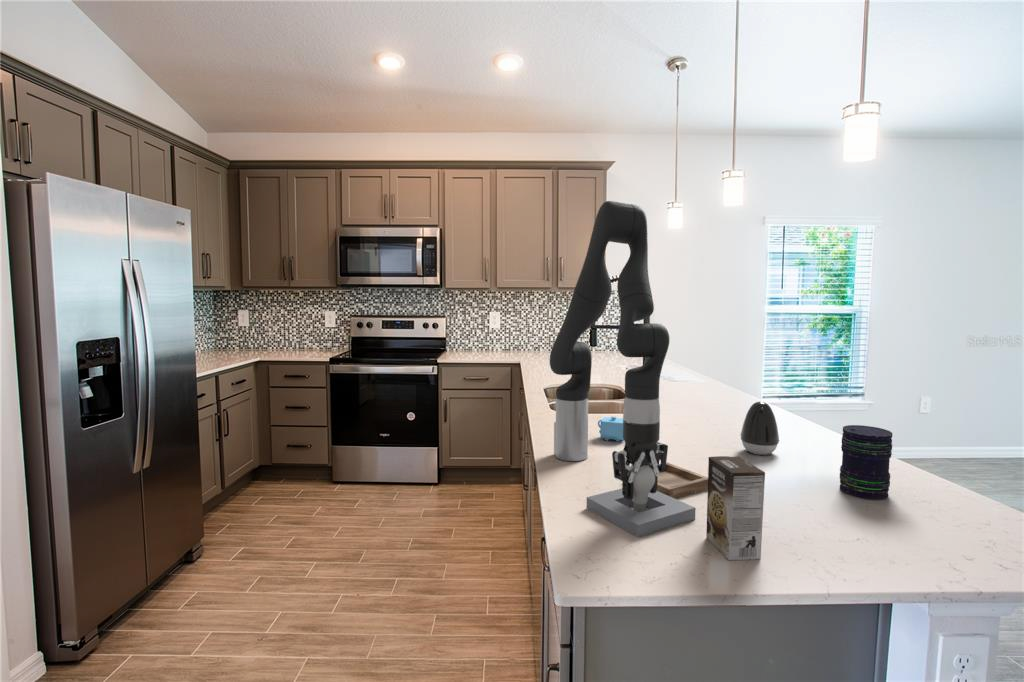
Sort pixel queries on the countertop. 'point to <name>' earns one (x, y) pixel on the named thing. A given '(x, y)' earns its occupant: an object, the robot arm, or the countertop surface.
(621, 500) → the socket block
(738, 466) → the coffee box
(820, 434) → the countertop surface
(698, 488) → the tray
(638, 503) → the lightbulb
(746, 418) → the black egg-shaped device
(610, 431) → the teapot
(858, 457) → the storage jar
